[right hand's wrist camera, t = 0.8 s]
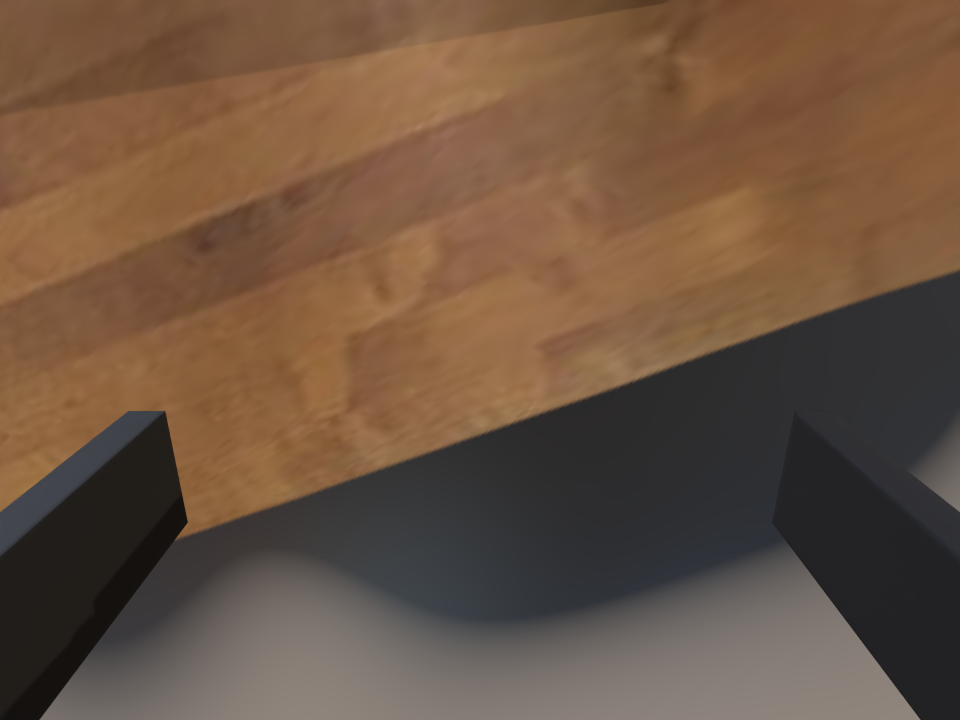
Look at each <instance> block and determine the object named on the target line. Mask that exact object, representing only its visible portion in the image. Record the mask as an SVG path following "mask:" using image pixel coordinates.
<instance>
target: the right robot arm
mask: <svg viewBox="0 0 960 720" xmlns="http://www.w3.org/2000/svg"><path fill="white" fill-rule="evenodd" d="M187 523H188V521H187V516H186V511H185V507H184V502H183V497H182V492H181V487H180V482H179V477H178V472H177V467H176V462H175V457H174V452H173V447H172V442H171V438H170V433H169V428H168V423H167V418H166V413H165V411H128V412H127V413H125V414H124V415H123V416H122V417H120V418H119V419H118V420H117V421H115V422H114V423H113V424H112V425H110V426H109V427H108V428H106V429H105V430H104V431H103V432H101V433H100V434H99V435H98V436H96V437H95V438H94V439H93V440H91V441H90V442H89V443H87V444H86V445H85V446H84V447H82V448H81V449H80V450H79V451H77V452H76V453H75V454H73V455H72V456H71V457H70V458H68V459H67V460H66V461H65V462H63V463H62V464H61V465H60V466H58V467H57V468H56V469H54V470H53V471H52V472H51V473H49V474H48V475H47V476H46V477H44V478H43V479H42V480H41V481H39V482H38V483H37V484H35V485H34V486H33V487H32V488H30V489H29V490H28V491H27V492H25V493H24V494H23V495H22V496H20V497H19V498H18V499H16V500H15V501H14V502H13V503H11V504H10V505H9V506H8V507H6V508H5V509H4V510H3V511H1V512H0V720H39V719H40V718H41V717H42V716H43V714H44V713H45V712H46V710H47V709H48V708H49V706H50V705H51V704H52V702H53V701H54V699H55V698H56V697H57V696H58V694H59V693H60V692H61V690H62V689H63V688H64V686H65V685H66V684H67V682H68V681H69V680H70V678H71V677H72V676H73V674H74V673H75V672H76V670H77V669H78V668H79V666H80V665H81V664H82V662H83V661H84V660H85V658H86V657H87V656H88V654H89V653H90V652H91V650H92V649H93V648H94V646H95V645H96V644H97V642H98V641H99V640H100V638H101V637H102V636H103V634H104V633H105V632H106V630H107V629H108V628H109V626H110V625H111V624H112V622H113V621H114V620H115V619H116V617H117V616H118V615H119V613H120V612H121V610H122V609H123V608H124V607H125V605H126V604H127V603H128V601H129V600H130V599H131V597H132V596H133V595H134V593H135V592H136V591H137V589H138V588H139V587H140V585H141V584H142V583H143V581H144V580H145V579H146V577H147V576H148V575H149V573H150V572H151V571H152V569H153V568H154V567H155V565H156V564H157V563H158V561H159V560H160V559H161V557H162V556H163V555H164V553H165V552H166V551H167V549H168V548H169V547H170V545H171V544H172V543H173V541H174V540H175V539H176V537H177V536H178V535H179V533H180V532H181V531H182V529H183V528H184V527H185V525H186V524H187ZM772 523H773V524H774V525H775V527H776V528H777V529H778V531H779V532H780V533H781V535H782V536H783V537H784V539H785V540H786V541H787V543H788V544H789V545H790V547H791V548H792V549H793V551H794V552H795V553H796V555H797V556H798V557H799V559H800V560H801V561H802V563H803V564H804V565H805V567H806V568H807V569H808V571H809V572H810V573H811V574H812V576H813V577H814V579H815V580H816V581H817V583H818V584H819V585H820V587H821V588H822V589H823V591H824V592H825V593H826V595H827V596H828V597H829V599H830V600H831V601H832V603H833V604H834V605H835V607H836V608H837V609H838V610H839V612H840V613H841V615H842V616H843V617H844V619H845V620H846V621H847V622H848V624H849V625H850V626H851V628H852V629H853V630H854V632H855V633H856V634H857V636H858V637H859V638H860V640H861V641H862V642H863V644H864V645H865V646H866V648H867V649H868V650H869V652H870V653H871V654H872V656H873V657H874V658H875V660H876V661H877V662H878V664H879V665H880V666H881V668H882V669H883V670H884V672H885V673H886V674H887V676H888V677H889V678H890V680H891V681H892V682H893V684H894V685H895V686H896V688H897V689H898V690H899V692H900V693H901V694H902V696H903V697H904V698H905V700H906V701H907V702H908V704H909V705H910V706H911V708H912V709H913V710H914V711H915V713H916V714H917V716H918V717H919V718H920V720H960V512H959V511H957V510H956V509H955V508H954V507H952V506H951V505H950V504H949V503H947V502H946V501H945V500H944V499H942V498H941V497H940V496H938V495H937V494H936V493H935V492H933V491H932V490H931V489H930V488H928V487H927V486H926V485H925V484H923V483H922V482H921V481H919V480H918V479H917V478H916V477H914V476H913V475H912V474H911V473H909V472H908V471H907V470H905V469H904V468H903V467H902V466H900V465H899V464H898V463H897V462H895V461H894V460H893V459H892V458H890V457H889V456H888V455H887V454H885V453H884V452H883V451H881V450H880V449H879V448H878V447H876V446H875V445H874V444H873V443H871V442H870V441H869V440H867V439H866V438H865V437H864V436H862V435H861V434H860V433H859V432H857V431H856V430H855V429H854V428H852V427H851V426H850V425H848V424H847V423H846V422H845V421H843V420H842V419H841V418H840V417H838V416H837V415H836V414H835V413H833V412H832V411H795V413H794V418H793V423H792V428H791V433H790V438H789V442H788V447H787V452H786V457H785V462H784V467H783V472H782V477H781V482H780V487H779V492H778V497H777V502H776V507H775V511H774V516H773V522H772Z"/></svg>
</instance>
